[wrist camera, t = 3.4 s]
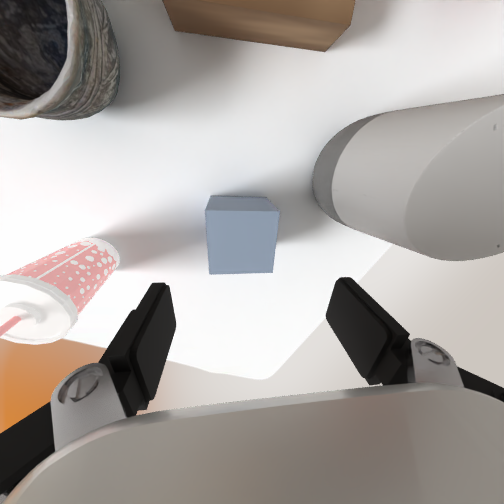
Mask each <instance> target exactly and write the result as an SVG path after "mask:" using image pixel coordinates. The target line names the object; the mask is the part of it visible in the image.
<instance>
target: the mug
mask: <svg viewBox="0 0 504 504" xmlns="http://www.w3.org/2000/svg"><path fill="white" fill-rule="evenodd" d="M119 78H120V64H119V55H118V48H117V44H116V40H115V36H114V33H113V30H112V27H111V23H110V20H109V17H108V15H107V11H106V9H105V7H104V6H103V4H102V1H101V0H0V117H6V118H14V119H27V118H33V117H39V118H45V119H53V120H76V119H82V118H87V117H90V116H92V115H94V114H96V113H98V112H100V111H102V110H103V109H104V108H105V107H107V106H108V105H109V104H110V103H111V102H112V101H113V99H114V98H115V96H116V94H117V90H118V85H119Z"/></svg>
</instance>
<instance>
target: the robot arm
mask: <svg viewBox="0 0 504 504" xmlns="http://www.w3.org/2000/svg"><path fill="white" fill-rule="evenodd" d="M326 319H327V321H328V323H329V325H330V326H331V328H332V329H333V331H334V333H335V334H336V336H337V338H338V339H339V341H340V342H341V344H342V346H343V347H344V349H345V351H346V352H347V354H348V355H349V357H350V359H351V360H352V362H353V364H354V365H355V367H356V368H357V370H358V372H359V373H360V375H361V376H362V377H363V378H365V379H366V381H367V382H368V384H369V385H377V384H380V383H382V384H383V386H374V387H365V388H355V389H345V390H336V391H327V392H317V393H308V394H299V395H290V396H282V397H272V398H262V399H254V400H245V401H237V402H229V403H219V404H212V405H202V406H195V407H187V408H180V409H172V410H165V411H158V412H152V413H147V414H142V415H136V414H137V411H138V410H146V409H147V407H148V404H149V401H150V400H153V399H154V397H155V394H156V391H157V388H158V385H159V381H160V378H161V375H162V372H163V368H164V365H165V362H166V359H167V355H168V352H169V349H170V346H171V342H172V339H173V336H174V333H175V329H176V319H175V314H174V308H173V303H172V298H171V292H170V287H169V285H166V284H165V283H152V284H151V286H150V287H149V289H148V291H147V292H146V294H145V295H144V297H143V299H142V300H141V302H140V304H139V305H138V307H137V308H136V310H132V311H131V312H130V314H129V315H128V317H127V318H126V320H125V321H124V323H123V324H122V326H121V328H120V329H119V331H118V332H117V334H116V335H115V337H114V339H113V340H112V342H111V343H110V345H109V346H108V348H107V350H106V351H105V353H104V354H103V356H102V358H101V359H100V361H99V362H98V363H92V364H88V365H85V366H82V367H80V368H78V369H76V370H75V371H73V372H72V373H70V374H69V375H68V376H67V377H65V379H63V380H62V381H61V382H60V383H59V385H58V386H57V387H56V388H55V390H54V392H53V394H52V397H51V401H50V402H49V403H47V404H46V405H44V406H42V407H41V408H39V409H38V410H36V411H35V412H33V413H32V414H30V415H28V416H27V417H26V418H24V419H22V420H21V421H19V422H18V423H16V424H14V425H13V426H11V427H10V428H8V429H7V430H5V431H4V432H2V433H0V504H504V388H502V387H500V386H498V385H496V384H494V383H492V382H490V381H487V380H485V379H483V378H481V377H479V376H477V375H474V374H472V373H470V372H468V371H466V370H464V369H462V368H459V367H457V366H456V363H455V361H454V359H453V358H452V356H451V355H450V354H449V353H448V352H447V351H445V350H444V349H443V348H442V347H440V346H438V345H436V344H435V343H433V342H431V341H429V340H425V339H421V338H416V339H413V340H412V341H410V340H409V339H408V337H409V335H410V334H409V333H408V332H407V331H406V330H405V329H404V328H403V327H402V326H401V325H400V324H399V323H398V322H397V321H396V320H395V319H394V318H393V317H392V316H390V315H389V314H388V313H387V312H386V311H385V310H384V309H383V308H382V307H381V306H380V305H379V304H378V303H377V302H376V301H375V300H374V299H373V298H372V297H371V296H370V295H369V294H368V293H367V292H365V291H364V290H363V289H362V288H361V287H360V286H359V285H358V284H357V283H356V282H355V281H354V280H353V279H352V278H350V277H341V278H339V279H338V280H337V281H336V282H335V286H334V289H333V292H332V296H331V299H330V302H329V306H328V309H327V312H326Z"/></svg>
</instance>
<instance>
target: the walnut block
mask: <svg viewBox="0 0 504 504" xmlns="http://www.w3.org/2000/svg"><path fill="white" fill-rule="evenodd" d="M163 3H164V5H165V8H166V10H167V13H168V15H169V17H170V20H171V22H172V25H173V27H174V30H175V31H179V32H186V33H193V34H200V35H208V36H215V37H222V38H229V39H236V40H243V41H250V42H257V43H265V44H272V45H279V46H286V47H293V48H300V49H307V50H314V51H322V52H325V51H326V50H327V49H328V48H329V47H330V46H331V45H332V44H333V43H334V42H335V41H336V40H337V39H338V38H339V37H340V36H341V35H342V34H343V32H344V31H345V30H346V29H347V28H348V27H349V26H350V25H351V20H352V15H353V10H354V5H355V0H163Z"/></svg>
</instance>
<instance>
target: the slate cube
mask: <svg viewBox="0 0 504 504" xmlns="http://www.w3.org/2000/svg"><path fill="white" fill-rule="evenodd" d="M205 215H206V230H207V245H208V260H209V274H243V273H273V265H274V257H275V248H276V240H277V232H278V223H279V215H280V211H279V210H278V209H277V208H276V207H275V206H274V205H273V204H272V203H271V202H270V201H269V200H268V199H267V198H266V197H236V196H210V199H209V202H208V204H207V207H206V209H205Z"/></svg>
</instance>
